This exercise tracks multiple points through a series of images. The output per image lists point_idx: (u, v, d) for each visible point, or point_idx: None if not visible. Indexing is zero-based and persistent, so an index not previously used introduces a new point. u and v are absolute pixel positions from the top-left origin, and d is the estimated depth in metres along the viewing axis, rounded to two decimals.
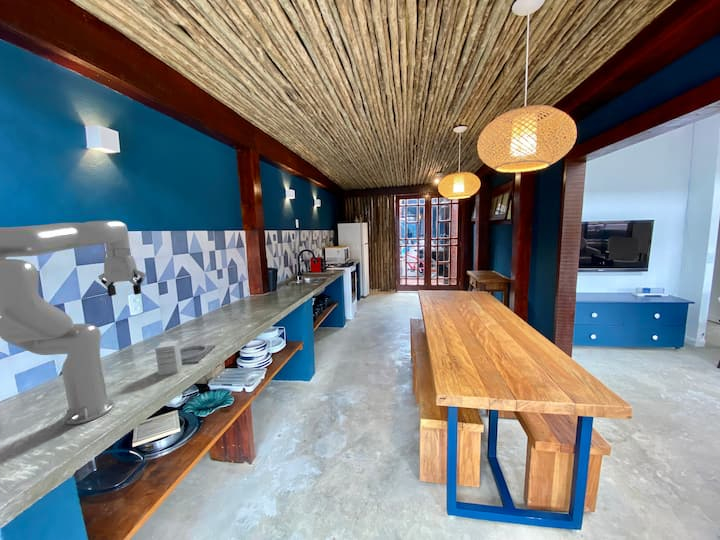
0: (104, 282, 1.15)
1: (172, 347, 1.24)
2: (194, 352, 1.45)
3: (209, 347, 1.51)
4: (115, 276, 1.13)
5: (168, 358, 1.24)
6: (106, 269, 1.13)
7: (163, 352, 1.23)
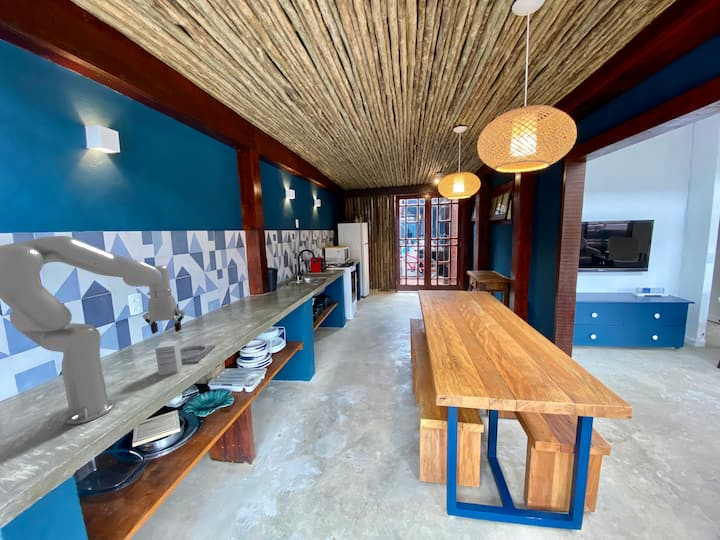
0: (148, 321, 1.24)
1: (172, 347, 1.24)
2: (194, 352, 1.45)
3: (209, 347, 1.51)
4: (158, 316, 1.22)
5: (168, 358, 1.24)
6: (150, 309, 1.22)
7: (163, 352, 1.23)
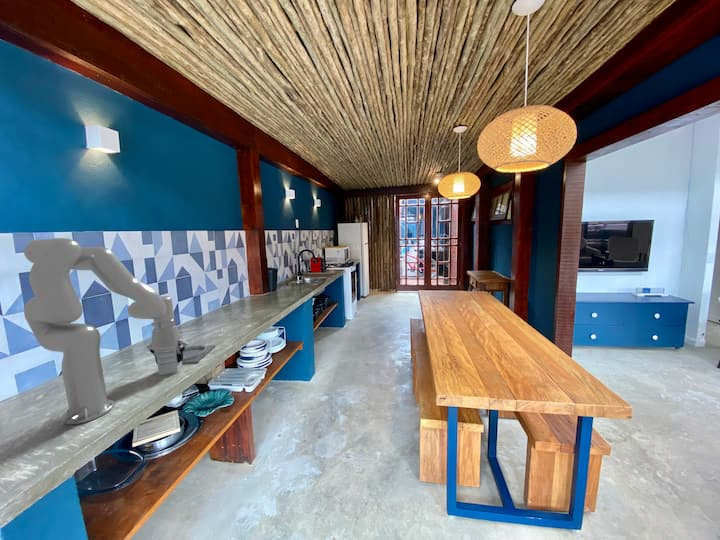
0: (152, 351, 1.25)
1: (172, 347, 1.24)
2: (194, 352, 1.45)
3: (209, 347, 1.51)
4: (162, 346, 1.23)
5: (168, 358, 1.24)
6: (154, 340, 1.23)
7: (163, 352, 1.23)
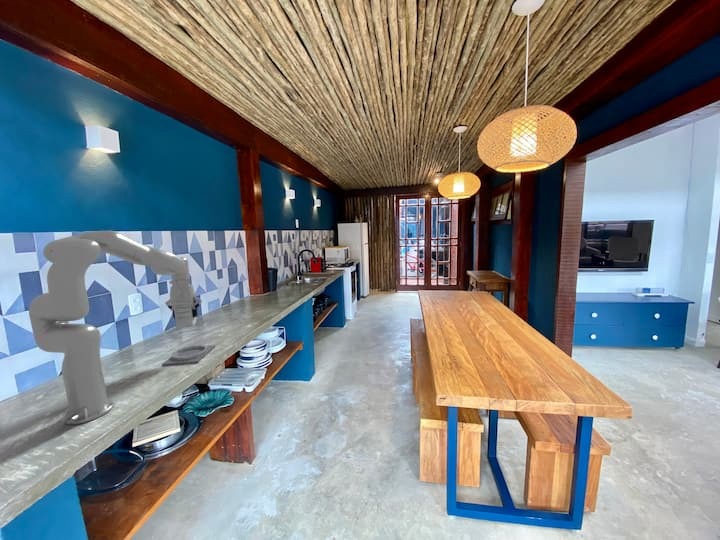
0: (170, 307, 1.39)
1: (188, 303, 1.37)
2: (194, 352, 1.45)
3: (209, 347, 1.51)
4: None
5: (184, 312, 1.37)
6: (172, 296, 1.37)
7: (180, 307, 1.37)
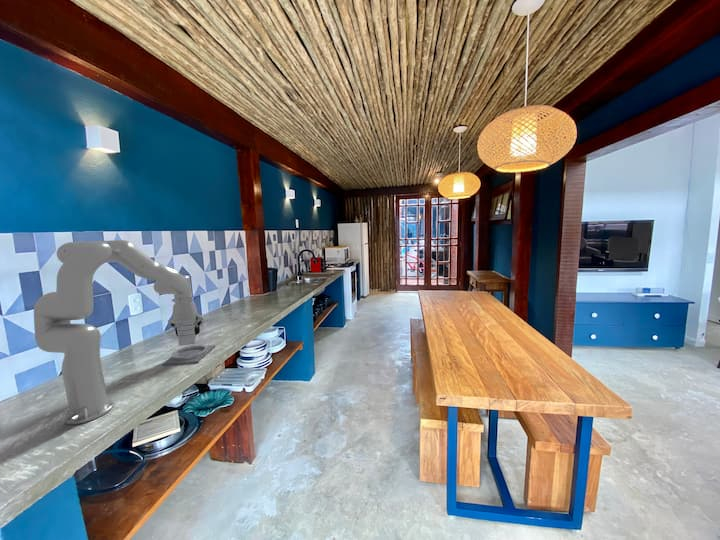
0: (173, 325, 1.40)
1: (191, 320, 1.39)
2: (194, 352, 1.45)
3: (209, 347, 1.51)
4: None
5: (187, 330, 1.39)
6: (174, 314, 1.38)
7: (183, 325, 1.38)
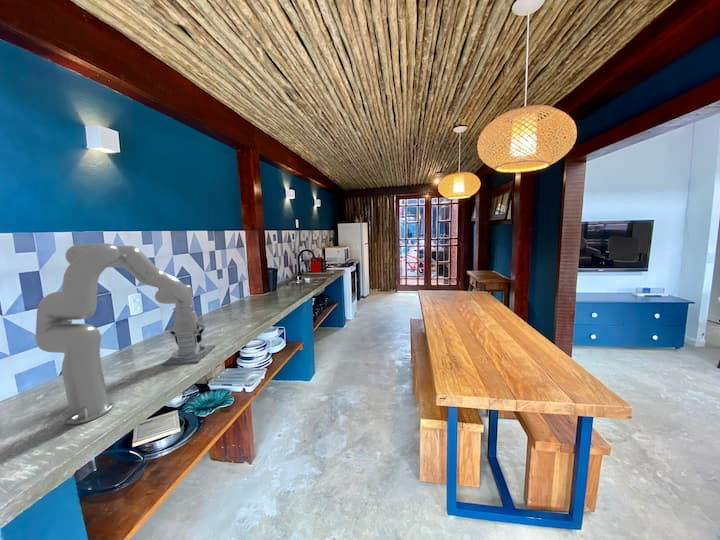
0: (173, 333, 1.41)
1: (191, 333, 1.39)
2: None
3: (209, 347, 1.51)
4: (183, 329, 1.39)
5: (187, 342, 1.39)
6: (175, 323, 1.39)
7: (183, 337, 1.38)
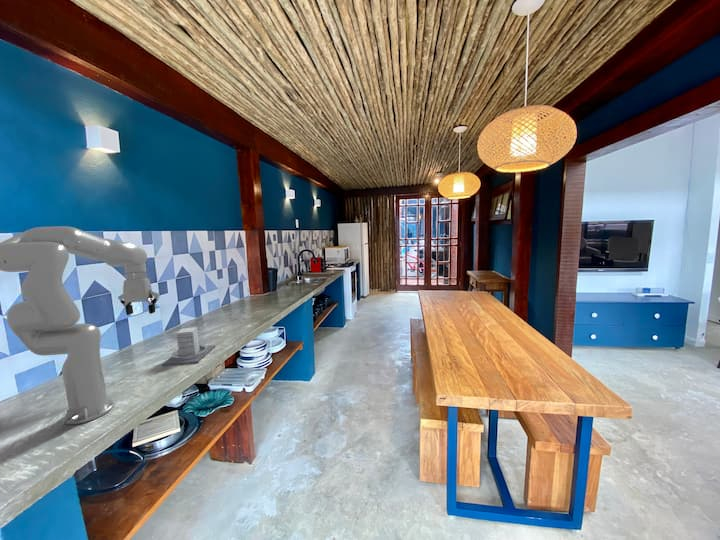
0: (123, 302, 1.27)
1: (191, 332, 1.39)
2: None
3: (209, 347, 1.51)
4: (133, 297, 1.25)
5: (187, 342, 1.39)
6: (125, 291, 1.25)
7: (183, 337, 1.38)
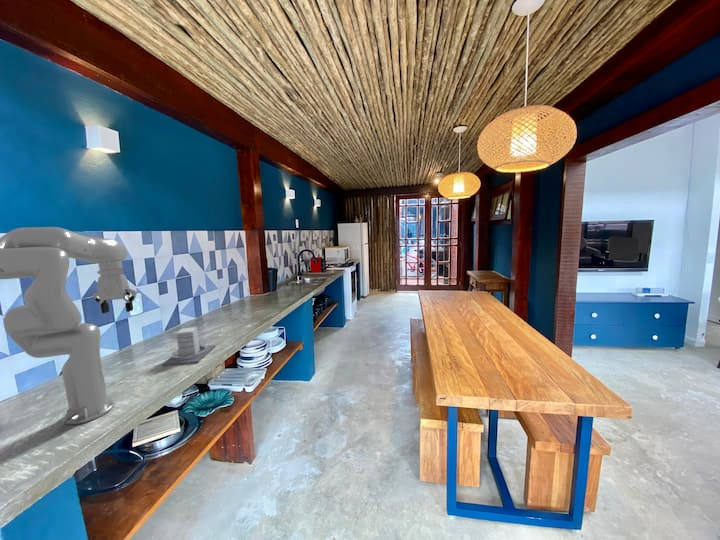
0: (98, 300, 1.21)
1: (191, 332, 1.39)
2: None
3: (209, 347, 1.51)
4: (108, 295, 1.20)
5: (187, 342, 1.39)
6: (99, 288, 1.19)
7: (183, 337, 1.38)
